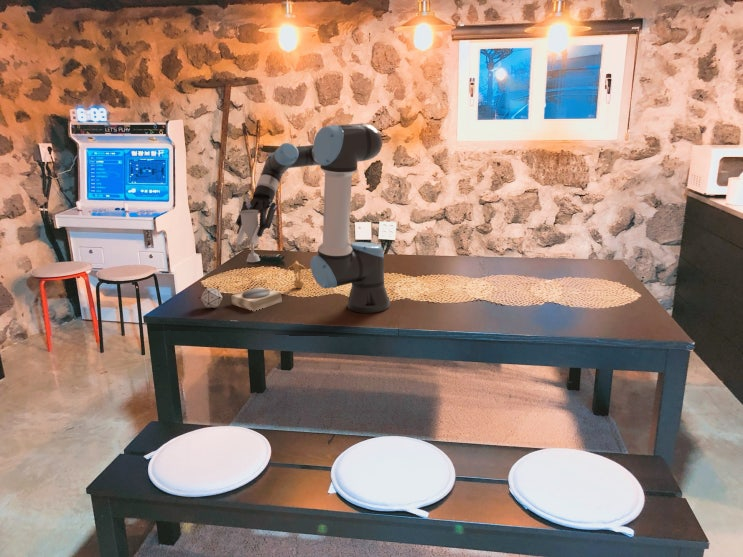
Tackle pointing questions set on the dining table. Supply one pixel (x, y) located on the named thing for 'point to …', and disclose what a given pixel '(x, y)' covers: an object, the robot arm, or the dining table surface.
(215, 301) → the game die
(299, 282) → the figurine
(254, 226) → the chalice
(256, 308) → the pedestal
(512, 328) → the dining table surface
